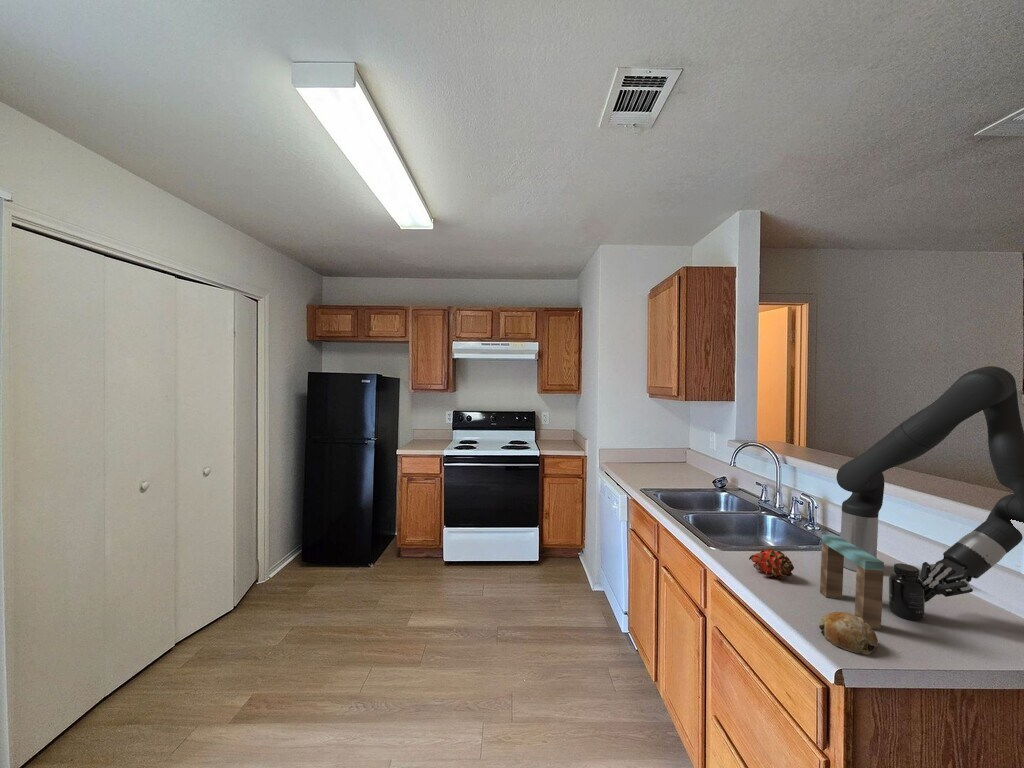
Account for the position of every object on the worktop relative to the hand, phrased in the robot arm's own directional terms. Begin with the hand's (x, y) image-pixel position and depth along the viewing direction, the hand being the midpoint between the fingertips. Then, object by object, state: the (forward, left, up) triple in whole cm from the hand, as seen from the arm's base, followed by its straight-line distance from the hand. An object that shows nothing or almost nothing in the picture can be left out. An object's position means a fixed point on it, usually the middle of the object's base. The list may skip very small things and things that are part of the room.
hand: (918, 599), depth 113 cm
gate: (0, -16, -4) cm, 17 cm away
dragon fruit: (-18, -27, -4) cm, 33 cm away
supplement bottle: (0, -3, -4) cm, 5 cm away
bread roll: (+15, -25, -5) cm, 30 cm away
